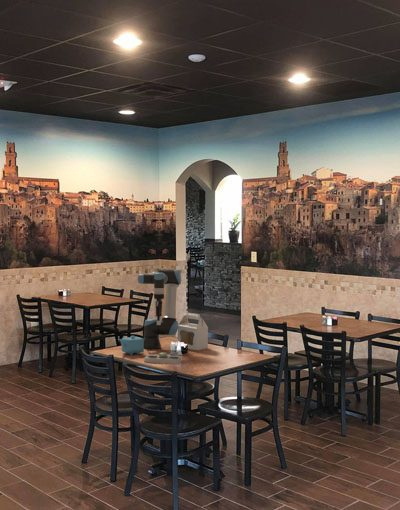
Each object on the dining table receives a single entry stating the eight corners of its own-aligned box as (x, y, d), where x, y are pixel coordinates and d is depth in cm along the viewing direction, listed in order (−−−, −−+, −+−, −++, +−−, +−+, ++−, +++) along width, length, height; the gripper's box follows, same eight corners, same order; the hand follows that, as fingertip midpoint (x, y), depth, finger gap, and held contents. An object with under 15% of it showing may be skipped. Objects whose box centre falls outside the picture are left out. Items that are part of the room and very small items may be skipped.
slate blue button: (170, 353, 467) (170, 351, 467) (178, 354, 466) (178, 352, 466) (168, 355, 461) (168, 353, 461) (177, 356, 460) (177, 353, 460)
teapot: (140, 351, 501) (140, 333, 500) (146, 353, 492) (147, 336, 491) (114, 354, 489) (114, 336, 488) (120, 356, 480) (121, 338, 479)
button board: (148, 358, 473) (148, 354, 473) (181, 360, 469) (181, 356, 469) (144, 362, 462) (144, 357, 461) (178, 363, 457) (178, 359, 457)
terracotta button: (149, 352, 470) (149, 350, 470) (157, 353, 469) (157, 351, 469) (147, 354, 464) (147, 352, 464) (155, 354, 463) (155, 352, 463)
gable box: (177, 346, 523) (177, 312, 522) (188, 344, 533) (189, 311, 531) (196, 350, 508) (197, 315, 507) (208, 348, 517) (208, 313, 516)
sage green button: (160, 354, 469) (160, 352, 469) (168, 354, 468) (168, 352, 468) (158, 356, 463) (158, 353, 463) (166, 356, 462) (166, 354, 462)
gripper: (156, 292, 485) (155, 323, 486) (152, 294, 472) (151, 326, 473) (165, 292, 484) (165, 323, 485) (162, 294, 471) (161, 326, 472)
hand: (158, 324), depth 479 cm, fingers closed
